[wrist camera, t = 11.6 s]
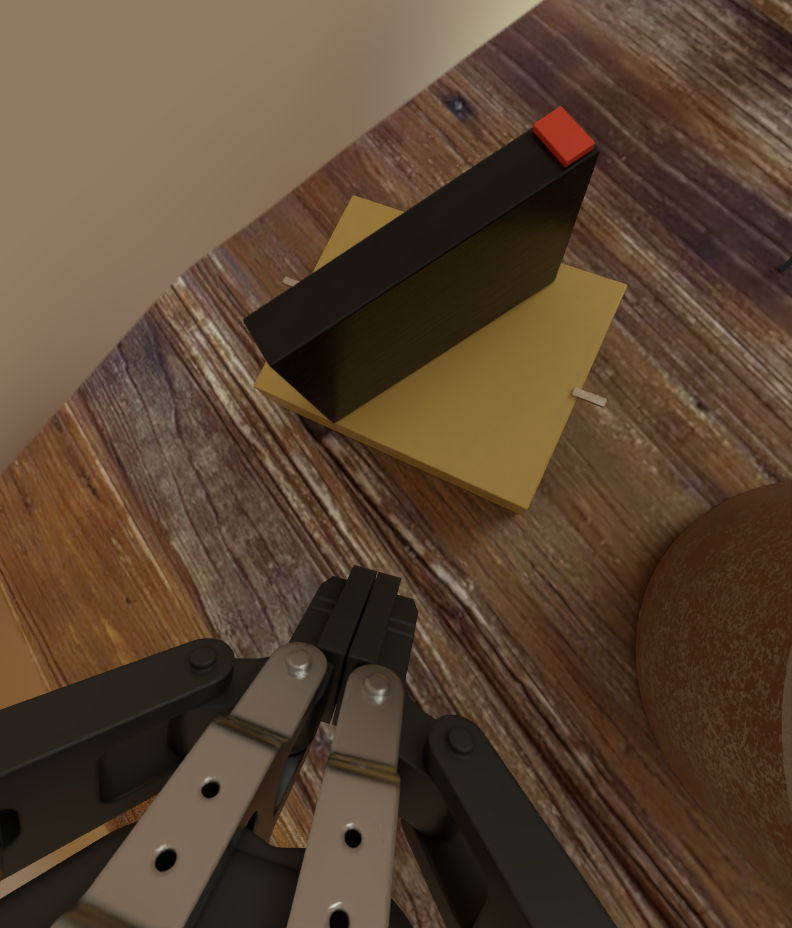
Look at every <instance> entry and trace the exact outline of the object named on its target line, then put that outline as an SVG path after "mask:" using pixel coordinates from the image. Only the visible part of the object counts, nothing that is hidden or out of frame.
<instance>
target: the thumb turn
mask: <svg viewBox="0 0 792 928" xmlns="http://www.w3.org/2000/svg"><path fill="white" fill-rule="evenodd" d="M599 153H600V150H599V148H598V147H597V146H596V145H595V142H594V141H593V140H592V139H591V138H590V137H589V136H588V135H587V134H586V133H585V131H584V130H583V129H582V128H581V127H580V126H579V125H578V124H577V123H576V122H575V121H574V120H573V119H572V117H571V116H570V115H569V114H568V113H567V112H566V111H565V110H564V109H563V108H562V107H559V108H557V109H556V110H554V111H553V112H551V113H550V114H548V115H547V116H545V117H544V118H542V119H541V120H539V121H538V122H536V123H535V124H534V125H533V127H532V128H531V129H529V130H528V131H526V132H525V133H523V134H522V135H520V136H519V137H517V138H516V139H514V140H513V141H511V142H510V143H508V144H507V145H505V146H504V147H502V148H501V149H499V150H498V151H496V152H495V153H493V154H492V155H490V156H489V157H487V158H485V159H484V160H482V161H481V162H479V163H478V164H476V165H475V166H473V167H472V168H470V169H469V170H467V171H466V172H464V173H463V174H461V175H460V176H458V177H457V178H455V179H454V180H452V181H451V182H449V183H448V184H446V185H445V186H443V187H442V188H440V189H439V190H437V191H436V192H434V193H433V194H431V195H430V196H428V197H427V198H425V199H424V200H422V201H421V202H419V203H418V204H416V205H414V206H413V207H411V208H410V209H408V210H407V211H405V212H404V213H402V214H401V215H399V216H398V217H396V218H395V219H393V220H392V221H390V222H389V223H387V224H386V225H384V226H383V227H381V228H380V229H378V230H377V231H375V232H374V233H372V234H371V235H369V236H368V237H366V238H365V239H363V240H362V241H360V242H359V243H357V244H356V245H354V246H353V247H351V248H350V249H348V250H347V251H345V252H343V253H342V254H340V255H339V256H337V257H336V258H334V259H333V260H331V261H330V262H328V263H327V264H325V265H324V266H322V267H321V268H319V269H318V270H316V271H315V272H313V273H312V274H310V275H309V276H307V277H306V278H304V279H303V280H301V281H300V282H298V283H297V284H295V285H294V286H292V287H291V288H289V289H288V290H286V291H285V292H283V293H282V294H280V295H279V296H277V297H276V298H274V299H272V300H271V301H269V302H268V303H266V304H265V305H263V306H262V307H260V308H259V309H257V310H256V311H254V312H253V313H251V314H250V315H248V316H247V317H245V318H244V319H243V321H244V324H245V326H246V327H247V329H248V331H249V332H250V334H251V336H252V337H253V339H254V341H255V343H256V344H257V346H258V348H259V349H260V351H261V353H262V354H263V356H264V358H265V360H266V361H267V363H268V365H269V366H270V367H271V368H272V369H273V370H274V371H275V372H276V373H277V374H279V375H280V376H281V377H282V378H283V379H284V380H285V381H286V382H287V383H289V384H290V385H291V386H292V387H293V388H294V389H295V390H296V391H297V392H298V393H300V394H301V395H302V396H303V397H304V398H305V399H306V400H307V401H308V402H310V403H311V404H312V405H313V406H314V407H315V408H316V409H317V410H318V411H320V412H321V413H322V414H323V415H324V416H325V417H326V418H327V419H328V420H329V421H331V422H332V423H333V424H334V423H336V422H338V421H339V420H341V419H342V418H344V417H345V416H347V415H348V414H350V413H351V412H353V411H355V410H356V409H358V408H359V407H361V406H362V405H364V404H365V403H367V402H368V401H370V400H372V399H373V398H375V397H376V396H378V395H379V394H381V393H382V392H384V391H385V390H387V389H389V388H390V387H392V386H393V385H395V384H396V383H398V382H399V381H401V380H402V379H404V378H406V377H407V376H409V375H410V374H412V373H413V372H415V371H416V370H418V369H419V368H421V367H423V366H424V365H426V364H427V363H429V362H430V361H432V360H433V359H435V358H436V357H438V356H440V355H441V354H443V353H444V352H446V351H447V350H449V349H450V348H452V347H453V346H455V345H457V344H458V343H460V342H461V341H463V340H464V339H466V338H467V337H469V336H470V335H472V334H474V333H475V332H477V331H478V330H480V329H481V328H483V327H484V326H486V325H487V324H489V323H491V322H492V321H494V320H495V319H497V318H498V317H500V316H501V315H503V314H504V313H506V312H508V311H509V310H511V309H512V308H514V307H515V306H517V305H518V304H520V303H521V302H523V301H525V300H526V299H528V298H529V297H531V296H532V295H534V294H535V293H537V292H538V291H540V290H542V289H543V288H545V287H546V286H548V285H549V284H551V283H552V282H554V281H555V279H556V276H557V274H558V271H559V268H560V265H561V262H562V259H563V256H564V253H565V250H566V248H567V245H568V242H569V239H570V236H571V233H572V230H573V227H574V225H575V222H576V219H577V216H578V213H579V210H580V207H581V204H582V202H583V199H584V196H585V193H586V190H587V187H588V184H589V181H590V179H591V176H592V173H593V170H594V167H595V164H596V161H597V158H598V156H599Z"/></svg>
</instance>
